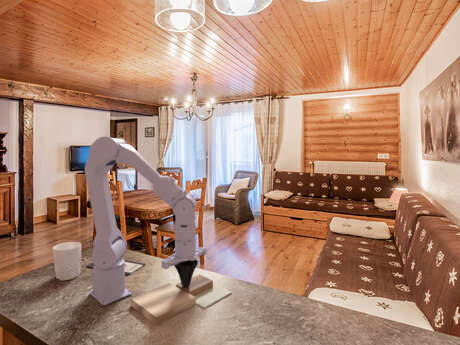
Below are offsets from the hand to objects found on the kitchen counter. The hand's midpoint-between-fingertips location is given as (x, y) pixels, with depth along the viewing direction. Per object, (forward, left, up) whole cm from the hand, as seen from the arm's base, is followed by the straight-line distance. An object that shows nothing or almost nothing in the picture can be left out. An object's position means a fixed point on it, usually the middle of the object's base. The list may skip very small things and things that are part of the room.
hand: (185, 285), depth 78 cm
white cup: (-37, -18, -3) cm, 41 cm away
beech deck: (0, -7, -3) cm, 8 cm away
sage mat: (0, +4, -3) cm, 5 cm away
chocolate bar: (-33, -4, -3) cm, 34 cm away
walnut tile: (0, +3, -2) cm, 4 cm away
